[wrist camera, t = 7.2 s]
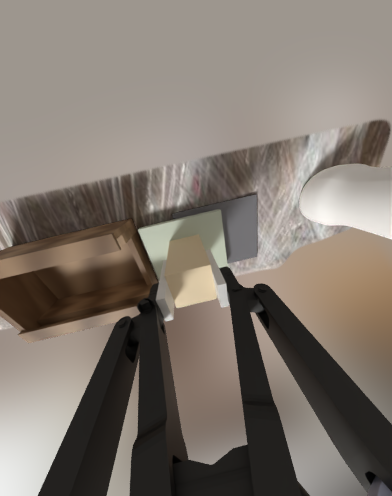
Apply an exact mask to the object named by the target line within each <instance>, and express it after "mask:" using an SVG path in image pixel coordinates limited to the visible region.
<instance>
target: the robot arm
mask: <svg viewBox="0 0 392 496" xmlns="http://www.w3.org/2000/svg"><path fill="white" fill-rule="evenodd" d="M205 251H206V254H207V256H208V259H209V261H210V264H211V269H212V274H213V280H214V285H215V290H216V294H217V296H218V299H219V302H220V305H221V307H226V306H229V304H230V308H231V316H232V324H233V332H234V340H235V348H236V355H237V363H238V371H239V379H240V387H241V395H242V404H243V412H244V420H245V427H246V435H247V443H248V445H245V446H241V447H237V448H233V449H232V450H231V451H229V452H228V453H227V454H226V455H224V456H223V457H222V458H221V459H220V460H218V461H217V462H216V463H215V464H213V465H209V464H204V463H200V462H196V461H191V460H188V455H187V451H186V446H185V442H184V439H183V435H182V430H181V424H180V419H179V412H178V406H177V399H176V393H175V387H174V381H173V374H172V368H171V362H170V355H169V350H168V343H167V336H166V330H165V325H164V323H163V320H164V319H165V321H169V320H173V319H174V300H173V297H172V294H171V292H170V289H169V287H168V284H167V282H166V279H165V276H164V274H165V268H166V261H167V260H163V265H162V270H161V276H160V281H159V283H156V284H153V285H152V287H151V288H150V292H149V296H148V297H147V298H144V299H142V300H141V301H140V302H139V303H138V304H137V308H138V310H139V312H140V314H139V315H137V316H135V317H133V318H131V317H129V316H125V317H123V318H121V319H120V320H119V321H118V322H117V323H116V325H115V326H114V329H113V331H112V333H111V335H110V337H109V340H108V342H107V344H106V346H105V348H104V351H103V353H102V355H101V357H100V360H99V362H98V364H97V366H96V368H95V371H94V373H93V375H92V377H91V379H90V382H89V384H88V386H87V388H86V390H85V393H84V395H83V397H82V399H81V402H80V404H79V406H78V408H77V410H76V412H75V415H74V417H73V419H72V421H71V424H70V426H69V428H68V430H67V432H66V435H65V437H64V439H63V441H62V443H61V446H60V448H59V450H58V452H57V454H56V457H55V459H54V461H53V463H52V465H51V468H50V470H49V472H48V474H47V477H46V479H45V481H44V483H43V485H42V488H41V490H40V492H39V494H38V496H106V495H107V491H108V487H109V482H110V478H111V474H112V470H113V465H114V461H115V457H116V453H117V448H118V444H119V440H120V436H121V431H122V427H123V422H124V419H125V414H126V410H127V406H128V401H129V397H130V393H131V389H132V384H133V380H134V376H135V372H136V367H137V363H138V359H139V361H140V362H139V401H138V402H139V403H138V435H137V438H136V440H135V442H134V445H133V449H132V457H131V479H130V496H310V495H309V494H308V493H307V492H306V490H305V489H304V488H303V487H302V486H301V484H300V483H299V482H298V481H297V478H296V474H295V471H294V467H293V464H292V460H291V456H290V452H289V449H288V445H287V441H286V438H285V434H284V430H283V427H282V423H281V420H280V416H279V413H278V410H277V407H276V405H275V403H274V401H273V397H272V394H271V390H270V386H269V382H268V379H267V375H266V371H265V367H264V363H263V360H262V356H261V352H260V348H259V344H258V341H257V337H256V333H255V329H254V326H253V322H252V318H251V314H250V312H255V313H256V315H257V317H258V318H259V320H260V322H261V323H262V325H263V327H264V328H265V330H266V331H267V333H268V335H269V337H270V338H271V340H272V341H273V343H274V345H275V347H276V348H277V350H278V352H279V353H280V355H281V357H282V358H283V360H284V362H285V363H286V365H287V367H288V368H289V370H290V372H291V373H292V375H293V377H294V378H295V380H296V382H297V384H298V385H299V387H300V389H301V390H302V392H303V394H304V395H305V397H306V398H307V400H308V402H309V404H310V405H311V407H312V409H313V410H314V412H315V414H316V415H317V417H318V419H319V420H320V422H321V424H322V425H323V427H324V429H325V430H326V432H327V434H328V435H329V437H330V438H331V440H332V442H333V444H334V445H335V447H336V448H337V450H338V451H339V453H340V455H341V456H342V458H343V459H344V461H345V462H346V464H347V465H348V467H349V468H350V469H351V471H352V472H353V474H354V475H355V476H356V478H357V479H358V481H359V482H360V483H361V485H362V486H363V487H364V488H365V490H366V491H367V492H368V494H367V496H392V425H391V423H390V422H389V421H388V420H387V419H386V418H385V417H384V415H382V413H381V412H380V411H379V410H378V409H377V408H376V406H375V405H374V404H373V403H372V402H371V401H370V400H369V399H368V397H366V395H365V394H364V393H363V392H362V391H361V390H360V388H359V387H358V386H357V385H356V384H355V383H354V382H353V380H352V379H351V378H350V377H349V376H348V375H347V374H346V373H345V371H344V370H343V369H342V368H341V367H340V366H339V365H338V364H337V362H336V361H335V360H334V359H333V358H332V357H331V356H330V354H329V353H328V352H327V351H326V350H325V349H324V348H323V347H322V346H321V344H320V343H319V342H318V341H317V340H316V339H315V338H314V337H313V335H312V334H311V333H310V332H309V331H308V330H307V329H306V327H304V325H303V324H302V323H301V322H300V321H299V319H298V318H297V317H296V316H295V315H294V314H293V313H292V312H291V311H290V309H289V308H288V307H287V306H286V305H285V304H284V303H283V301H282V300H281V299H280V298H279V297H278V296H277V295H276V294H275V292H274V291H273V290H272V289H271V288H270V287H269V286H268V285H265V284H256V285H255V286H254V288H245V287H243V286H242V285H240V284H239V283H238V282H237V280H236V278H235V276H234V275H233V273H232V271H231V270H230V268H228V267H227V266H226V267H221V268H219V267H218V265H217V263H216V261H215V259H214V256H213V254H212V252H211V250H210V249H209V250H205ZM139 354H140V356H139Z"/></svg>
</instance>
